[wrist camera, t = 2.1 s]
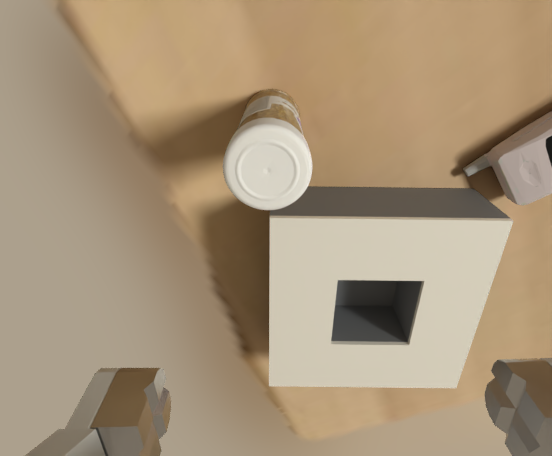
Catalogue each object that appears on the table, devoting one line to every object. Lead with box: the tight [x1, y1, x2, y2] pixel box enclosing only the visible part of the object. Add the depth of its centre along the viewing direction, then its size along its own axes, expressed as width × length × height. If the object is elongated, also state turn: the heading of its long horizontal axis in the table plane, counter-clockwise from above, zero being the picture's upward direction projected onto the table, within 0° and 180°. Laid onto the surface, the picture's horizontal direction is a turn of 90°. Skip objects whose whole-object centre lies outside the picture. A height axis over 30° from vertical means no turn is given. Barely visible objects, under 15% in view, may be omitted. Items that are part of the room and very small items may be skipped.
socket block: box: [269, 187, 513, 388], centre depth 35 cm, size 18×18×6 cm
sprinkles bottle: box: [223, 89, 312, 210], centre depth 25 cm, size 5×5×14 cm
